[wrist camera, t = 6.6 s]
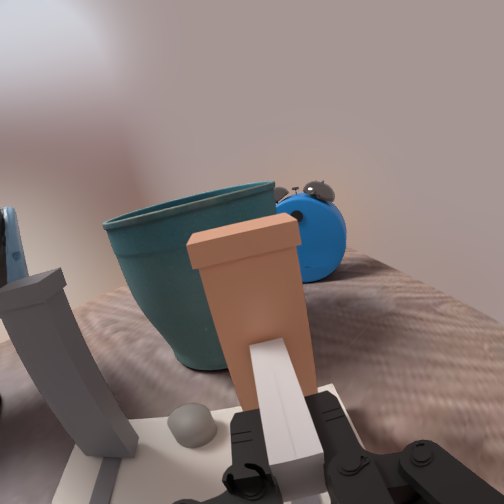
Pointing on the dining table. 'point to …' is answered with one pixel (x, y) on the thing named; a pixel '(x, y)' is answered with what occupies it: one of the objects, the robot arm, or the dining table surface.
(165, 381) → the dining table surface
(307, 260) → the alarm clock
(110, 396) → the gray capped upright block
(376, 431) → the dining table surface
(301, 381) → the terracotta paddle
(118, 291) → the dining table surface
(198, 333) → the flower pot
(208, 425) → the console
